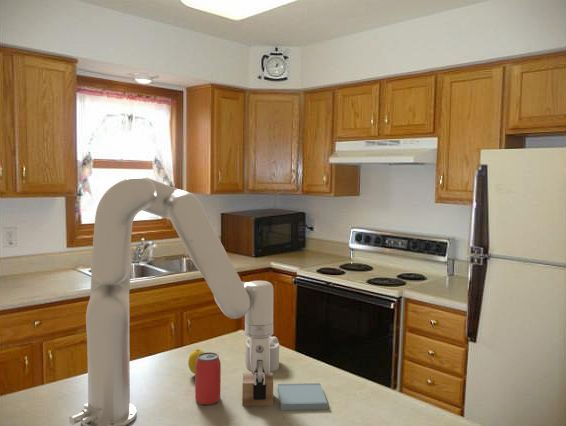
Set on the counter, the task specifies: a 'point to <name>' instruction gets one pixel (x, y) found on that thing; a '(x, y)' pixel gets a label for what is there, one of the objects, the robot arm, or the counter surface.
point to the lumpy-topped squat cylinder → (273, 354)
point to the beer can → (207, 378)
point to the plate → (301, 396)
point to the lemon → (194, 359)
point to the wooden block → (248, 390)
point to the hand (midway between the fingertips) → (258, 390)
